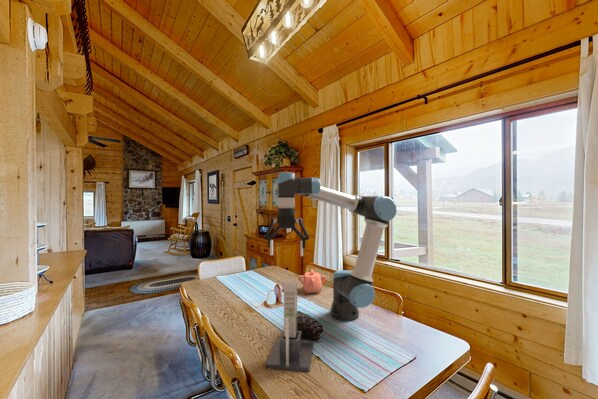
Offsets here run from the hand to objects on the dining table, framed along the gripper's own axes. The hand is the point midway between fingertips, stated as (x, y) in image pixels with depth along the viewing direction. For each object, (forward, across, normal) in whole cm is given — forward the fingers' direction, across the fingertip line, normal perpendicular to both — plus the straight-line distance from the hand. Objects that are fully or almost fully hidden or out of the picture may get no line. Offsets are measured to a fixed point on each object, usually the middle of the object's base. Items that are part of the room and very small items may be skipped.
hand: (286, 255), depth 119 cm
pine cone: (+37, -8, -4) cm, 38 cm away
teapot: (+37, -6, -61) cm, 72 cm away
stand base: (+37, -4, +14) cm, 39 cm away
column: (+28, -4, +14) cm, 32 cm away
